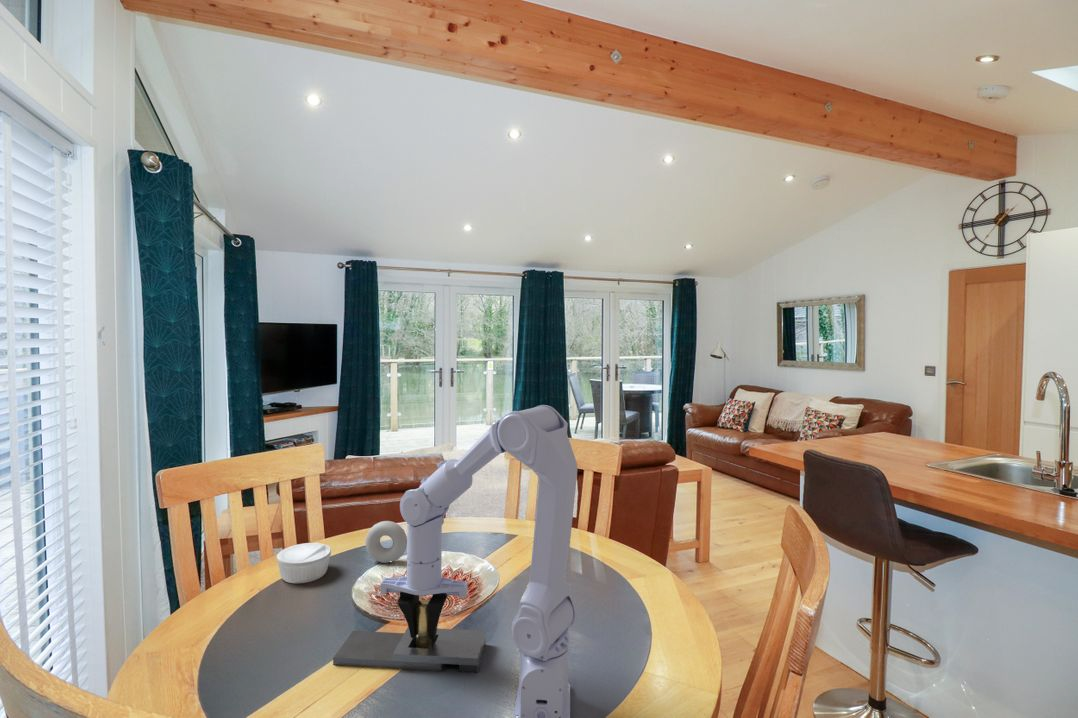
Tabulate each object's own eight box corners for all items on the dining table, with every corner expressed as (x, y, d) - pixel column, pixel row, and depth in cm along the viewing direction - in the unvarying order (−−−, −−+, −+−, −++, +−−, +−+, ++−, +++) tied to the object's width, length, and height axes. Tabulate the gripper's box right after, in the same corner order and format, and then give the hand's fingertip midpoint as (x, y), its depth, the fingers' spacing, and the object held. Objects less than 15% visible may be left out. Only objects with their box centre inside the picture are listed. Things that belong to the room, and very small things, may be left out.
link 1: (440, 670, 86) (441, 663, 86) (333, 664, 87) (333, 657, 87) (452, 642, 94) (452, 635, 94) (353, 637, 95) (353, 630, 95)
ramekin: (331, 582, 116) (331, 558, 116) (274, 590, 112) (274, 565, 112) (331, 561, 126) (331, 539, 126) (279, 568, 122) (279, 545, 122)
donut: (409, 560, 127) (409, 519, 127) (404, 566, 124) (404, 524, 124) (368, 558, 128) (368, 518, 128) (363, 564, 125) (363, 523, 124)
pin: (428, 654, 89) (429, 607, 88) (413, 652, 89) (414, 606, 89) (433, 645, 91) (434, 600, 91) (419, 644, 92) (419, 598, 91)
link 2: (477, 672, 85) (477, 658, 85) (392, 668, 86) (392, 653, 86) (485, 644, 93) (485, 630, 93) (407, 640, 94) (407, 626, 94)
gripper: (471, 549, 93) (470, 624, 93) (390, 545, 94) (390, 620, 94) (463, 566, 86) (462, 647, 86) (375, 562, 87) (375, 643, 87)
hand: (423, 635), depth 90 cm, fingers closed on pin, 3 cm apart
